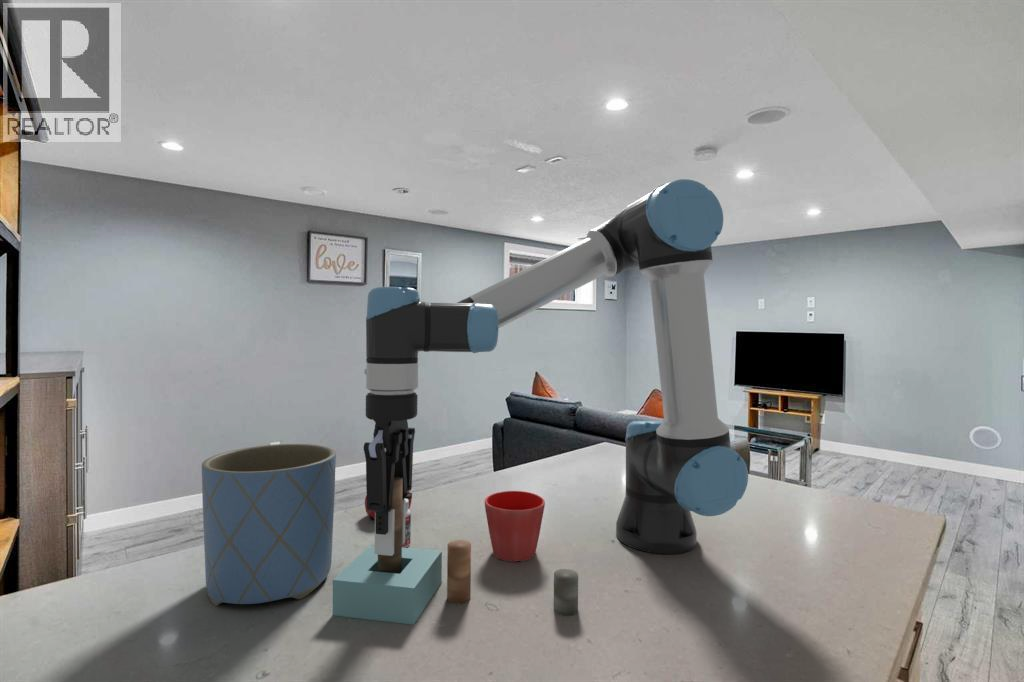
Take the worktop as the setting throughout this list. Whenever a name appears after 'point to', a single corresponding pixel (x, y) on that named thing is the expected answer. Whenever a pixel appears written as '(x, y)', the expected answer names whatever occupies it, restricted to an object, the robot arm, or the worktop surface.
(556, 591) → the pin short
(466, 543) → the pin medium
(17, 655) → the worktop surface
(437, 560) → the collar
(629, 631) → the worktop surface
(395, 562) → the pin long
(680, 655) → the worktop surface
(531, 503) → the flower pot
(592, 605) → the worktop surface
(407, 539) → the pill bottle
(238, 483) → the planter
